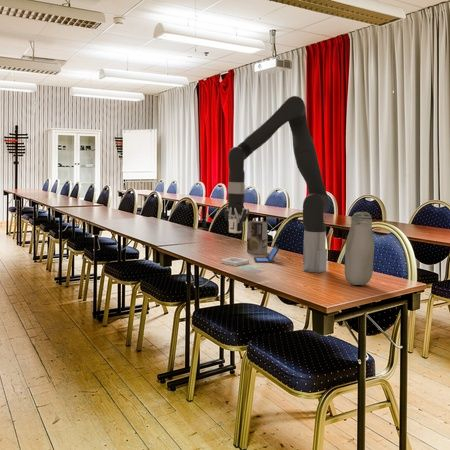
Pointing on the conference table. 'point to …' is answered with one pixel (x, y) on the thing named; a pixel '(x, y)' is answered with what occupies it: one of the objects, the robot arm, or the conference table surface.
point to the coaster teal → (244, 267)
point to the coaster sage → (255, 266)
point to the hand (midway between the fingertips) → (235, 230)
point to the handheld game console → (269, 257)
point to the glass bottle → (359, 250)
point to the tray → (234, 261)
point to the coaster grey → (254, 271)
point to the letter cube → (233, 226)
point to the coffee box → (257, 237)
